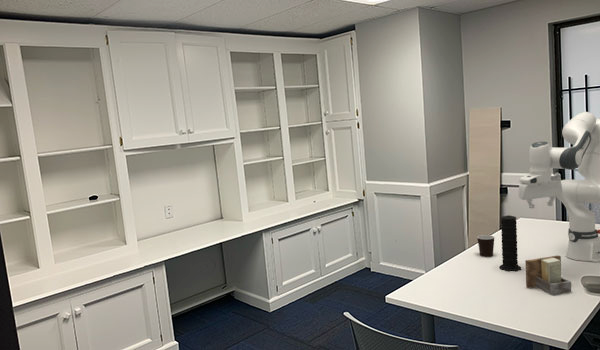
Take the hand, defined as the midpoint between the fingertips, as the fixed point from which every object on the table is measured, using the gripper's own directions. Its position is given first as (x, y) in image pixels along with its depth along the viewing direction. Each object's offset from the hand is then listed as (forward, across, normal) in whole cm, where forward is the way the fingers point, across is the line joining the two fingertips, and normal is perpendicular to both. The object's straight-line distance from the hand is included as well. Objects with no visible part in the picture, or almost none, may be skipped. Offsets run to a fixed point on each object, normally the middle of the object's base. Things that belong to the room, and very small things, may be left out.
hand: (541, 207), depth 212 cm
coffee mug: (+31, +8, -33) cm, 46 cm away
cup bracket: (+31, +10, +19) cm, 38 cm away
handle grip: (+31, +10, -10) cm, 34 cm away
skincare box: (+30, +10, +19) cm, 37 cm away
